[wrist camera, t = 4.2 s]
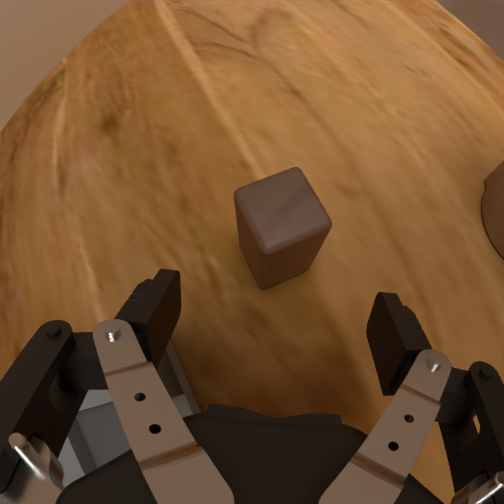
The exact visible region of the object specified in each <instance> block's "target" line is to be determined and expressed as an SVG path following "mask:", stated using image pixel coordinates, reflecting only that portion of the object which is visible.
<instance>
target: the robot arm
mask: <svg viewBox="0 0 504 504" xmlns="http://www.w3.org/2000/svg"><path fill="white" fill-rule="evenodd" d="M485 183H486V190H485V192H484V195H483V198H482V215H483V221H484V224H485V227H486V231H487V233H488V235H489V237H490V240H491V241H492V243H493V245H494V246H495V248H496V249H497V251H498V252H499V253H500V254H501V256H502V257H503V258H504V161H503V162H502V163H501V164H500V165H499V166H498V167H497V168H496V169H495V170H494V171H493V172H492V173H491V174H490V175H489V176H488V177H487V178H486V179H485ZM180 312H181V286H180V273H179V271H176V270H168V269H160V270H159V271H158V273H157V274H156V276H155V277H154V279H153V280H151V279H146V280H145V281H143V282H142V283H140V284H138V285H137V287H136V288H135V290H134V291H133V294H131V295H130V297H129V298H128V300H127V301H126V302H125V304H124V305H123V307H122V308H121V310H120V311H119V313H118V314H117V315H116V317H115V318H114V319H110V320H106V321H103V322H101V323H99V324H98V325H97V326H96V327H95V328H94V330H93V332H79V333H73V331H72V328H71V326H70V324H69V323H67V322H65V321H62V320H53V321H49V322H47V323H45V324H43V325H42V326H41V327H40V328H39V329H38V330H37V331H36V333H35V334H34V335H33V337H32V338H31V339H30V341H29V342H28V343H27V345H26V346H25V347H24V349H23V350H22V352H21V353H20V354H19V356H18V357H17V358H16V360H15V361H14V363H13V364H12V365H11V367H10V368H9V370H8V371H7V373H6V374H5V376H4V377H3V379H2V380H1V381H0V504H444V503H443V502H442V501H440V500H439V499H438V498H437V497H436V496H435V495H433V494H432V493H431V492H430V491H429V490H428V489H427V488H425V487H424V486H423V485H422V484H421V483H420V482H419V481H418V480H416V479H415V478H414V477H413V476H412V475H411V474H410V473H409V472H410V470H411V468H412V466H413V464H414V462H415V460H416V458H417V457H418V455H419V453H420V451H421V449H422V447H423V444H424V442H425V440H426V438H427V436H428V434H429V432H430V429H431V427H432V425H433V423H434V421H437V422H439V426H440V430H441V434H442V437H443V441H444V445H445V449H446V454H447V458H448V462H449V467H450V471H451V476H452V481H453V486H454V491H455V495H454V496H453V498H452V500H451V504H504V384H503V382H502V380H501V378H500V376H499V374H498V372H497V371H496V370H495V368H494V367H492V366H491V365H489V364H488V363H485V362H481V361H478V362H474V363H473V364H472V365H471V366H470V368H469V370H468V371H466V370H461V369H457V368H453V367H451V363H450V361H449V359H448V358H447V357H446V356H445V355H444V354H442V353H440V352H438V351H436V350H433V349H432V347H431V345H430V343H429V341H428V339H427V337H426V335H425V333H424V331H423V330H422V327H421V325H420V323H418V322H419V321H418V319H417V318H416V316H415V314H414V313H413V312H412V311H411V310H410V309H409V308H408V307H407V306H403V305H402V303H401V301H400V299H399V297H398V295H397V294H396V293H386V292H378V294H377V295H376V298H375V301H374V305H373V308H372V311H371V314H370V317H369V320H368V323H367V330H366V334H367V339H368V343H369V346H370V349H371V353H372V356H373V360H374V363H375V367H376V371H377V374H378V378H379V382H380V385H381V389H382V393H383V396H389V395H394V397H393V399H392V401H391V402H390V404H389V405H388V407H387V409H386V410H385V412H384V413H383V415H382V416H381V418H380V419H379V421H378V422H377V424H376V425H375V427H374V428H373V430H372V431H371V433H370V434H369V436H368V435H366V434H365V433H363V432H361V431H360V430H358V429H356V428H353V427H351V426H348V425H344V424H342V422H341V414H304V415H298V416H291V417H284V418H272V417H269V416H265V415H262V414H259V413H256V412H252V411H249V410H246V409H243V408H237V407H229V406H221V405H214V404H209V407H208V412H207V413H199V414H193V415H189V416H186V417H183V418H181V416H180V414H179V412H178V410H177V409H176V407H175V405H174V403H173V402H172V400H171V398H170V396H169V394H168V392H167V391H166V389H165V387H164V385H163V383H162V381H161V379H160V377H159V375H158V373H157V371H156V370H157V368H158V365H159V363H160V360H161V358H162V356H163V353H164V351H165V349H166V347H167V344H168V342H169V340H170V337H171V335H172V333H173V330H174V328H175V326H176V324H177V321H178V319H179V316H180ZM88 390H109V391H110V394H111V397H112V400H113V403H114V405H115V408H116V411H117V414H118V416H119V419H120V421H121V424H122V427H123V429H124V432H125V434H126V436H127V439H128V441H129V444H130V446H131V449H129V450H128V451H126V452H124V453H123V454H121V455H119V456H118V457H116V458H114V459H113V460H111V461H109V462H107V463H106V464H104V465H102V466H100V467H99V468H97V469H95V470H93V471H91V472H90V473H88V474H86V475H84V476H82V477H80V478H79V479H77V480H75V481H73V482H72V483H70V484H69V485H68V486H66V487H65V488H64V489H63V477H64V470H63V467H62V465H61V463H60V462H59V460H58V457H59V455H60V452H61V450H62V448H63V445H64V443H65V441H66V438H67V436H68V434H69V432H70V429H71V427H72V425H73V423H74V420H75V418H76V416H77V414H78V412H79V409H80V407H81V405H82V403H83V401H84V399H85V397H86V394H87V392H88ZM475 415H477V418H478V420H479V423H480V433H479V435H478V432H477V429H476V426H475V423H474V420H473V418H474V416H475Z"/></svg>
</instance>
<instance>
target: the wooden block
mask: <svg viewBox="0 0 504 504" xmlns="http://www.w3.org/2000/svg"><path fill="white" fill-rule="evenodd" d="M234 201H235V210H236V218H237V227H238V235H239V243H240V248H241V250H242V252H243V254H244V256H245V258H246V261H247V263H248V265H249V267H250V269H251V271H252V273H253V275H254V277H255V280H256V282H257V284H258V286H259V287H260V288H261V289H267V288H269V287H271V286H273V285H276V284H278V283H280V282H282V281H284V280H287V279H289V278H291V277H293V276H295V275H298V274H300V273H302V272H304V271H306V270H308V269H309V267H310V266H311V264H312V262H313V260H314V259H315V257H316V255H317V253H318V251H319V250H320V248H321V246H322V244H323V242H324V240H325V238H326V237H327V235H328V233H329V231H330V229H331V227H332V221H331V219H330V217H329V215H328V214H327V212H326V210H325V209H324V207H323V205H322V203H321V202H320V200H319V198H318V197H317V195H316V193H315V192H314V190H313V188H312V187H311V185H310V184H309V182H308V180H307V179H306V177H305V175H304V174H303V172H302V171H301V169H299V168H298V167H293V168H291V169H288V170H285V171H282V172H280V173H277V174H274V175H272V176H269V177H266V178H264V179H261V180H258V181H256V182H253V183H251V184H248V185H245V186H243V187H240V188H238V189H237V190H236V191H235V192H234Z"/></svg>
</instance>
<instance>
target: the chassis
mask: <svg viewBox="0 0 504 504" xmlns="http://www.w3.org/2000/svg"><path fill="white" fill-rule="evenodd" d="M156 371H157V373H158V375H159V377H160V379H161V381H162V383H163V385H164V387H165V389H166V391H167V392H168V394H169V396H170V398H171V400H172V402H173V403H174V405H175V407H176V409H177V410H178V412H179V414H180V416H181V418H183V417H186V416H189V415H193V414H199V413H201V410H200V408H199V406H198V404H197V401H196V399H195V397H194V395H193V392H192V390H191V388H190V385H189V383H188V380H187V378H186V376H185V373H184V371H183V368H182V366H181V363H180V361H179V358H178V356H177V353H176V351H175V348H174V346H173V343H172V340H171V338H170V340H169V342H168V344H167V347H166V349H165V351H164V353H163V356H162V358H161V360H160V363H159V365H158V368H157V370H156ZM129 449H131V446H130V444H129V441H128V439H127V436H126V434H125V432H124V429H123V427H122V424H121V421H120V419H119V416H118V414H117V411H116V408H115V405H114V403H113V400H112V397H111V394H110V391H109V390H88V392H87V394H86V397H85V399H84V401H83V403H82V405H81V407H80V409H79V412H78V414H77V416H76V418H75V420H74V423H73V425H72V427H71V429H70V432H69V434H68V436H67V438H66V441H65V443H64V445H63V448H62V450H61V452H60V455H59V457H58V460H59V462H60V463H61V465H62V467H63V470H64V477H63V486H64V488H65V487H66V486H68V485H69V484H70V483H72V482H73V481H75V480H77V479H79V478H80V477H82V476H84V475H86V474H88V473H90V472H91V471H93V470H95V469H97V468H99V467H100V466H102V465H104V464H106V463H107V462H109V461H111V460H113V459H114V458H116V457H118V456H119V455H121V454H123V453H124V452H126V451H128V450H129Z"/></svg>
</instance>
